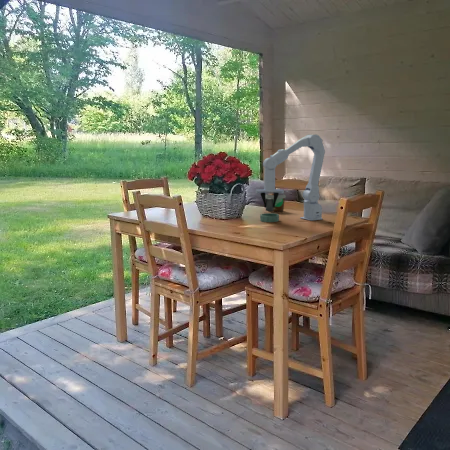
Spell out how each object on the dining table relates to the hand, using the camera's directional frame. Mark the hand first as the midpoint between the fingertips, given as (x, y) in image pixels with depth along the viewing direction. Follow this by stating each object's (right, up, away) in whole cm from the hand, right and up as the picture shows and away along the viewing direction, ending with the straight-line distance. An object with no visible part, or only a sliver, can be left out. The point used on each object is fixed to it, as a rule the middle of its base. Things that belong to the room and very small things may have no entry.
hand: (269, 207), depth 244 cm
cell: (0, -2, 0) cm, 2 cm away
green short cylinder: (0, -7, +1) cm, 7 cm away
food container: (+6, -2, +29) cm, 30 cm away
